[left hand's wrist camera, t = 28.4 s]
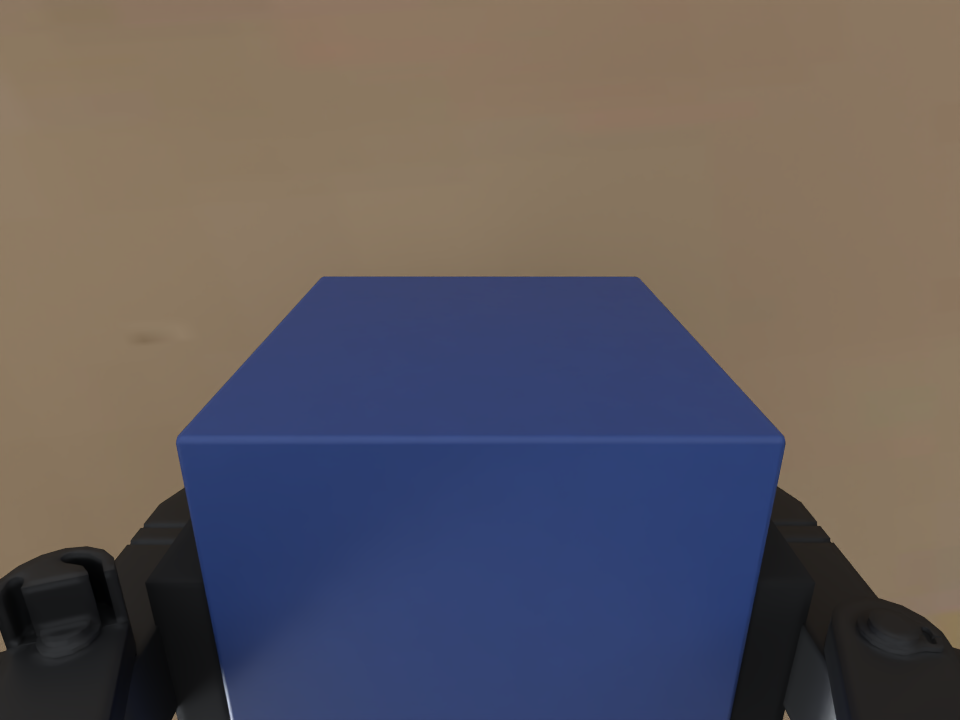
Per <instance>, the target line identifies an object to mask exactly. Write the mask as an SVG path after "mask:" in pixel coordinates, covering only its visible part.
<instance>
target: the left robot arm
mask: <svg viewBox="0 0 960 720" xmlns="http://www.w3.org/2000/svg"><path fill="white" fill-rule="evenodd" d="M0 631H1V634H2V637H3V640H4V642H5V645H6V648H7V650H6V651H3V652H0V720H172V718H173V716H174V714H175V712H176V714H177V718H178V720H231V718H230V713H229V708H228V703H227V698H226V693H225V688H224V683H223V678H222V673H221V668H220V663H219V658H218V653H217V648H216V643H215V638H214V633H213V628H212V622H211V617H210V612H209V607H208V602H207V597H206V592H205V587H204V582H203V577H202V572H201V567H200V562H199V557H198V552H197V547H196V542H195V537H194V531H193V526H192V521H191V516H190V511H189V506H188V501H187V496H186V491H185V488H183V489H182V490H180V491H179V492H177V493H176V494H174V495H173V496H171V497H170V498H168V499H167V500H165V501H164V502H162V503H161V504H160V505H159V506H158V507H157V508H156V510H155V511H154V512H153V513H152V515H151V516H150V517H149V518H148V520H147V521H146V522H145V523H144V528H140V530H139V531H138V532H137V533H136V535H135V536H134V537H133V538H132V540H131V544H130V545H127V546H126V547H125V548H124V550H123V551H122V552H121V553H120V555H119V556H118V557H117V558H116V560H115V561H114V557H112V556H111V555H110V554H109V553H107V552H106V551H105V550H103V549H98V548H93V547H87V546H86V547H75V548H65V549H61V550H58V551H54V552H51V553H47V554H44V555H41V556H39V557H36V558H34V559H32V560H30V561H28V562H26V563H24V564H22V565H20V566H18V567H16V568H15V569H14V570H12V571H11V572H10V573H8V574H7V575H6V576H4V577H3V578H1V579H0ZM785 710H786V712H787V714H788V716H789V718H790V720H960V649H956V648H953V647H952V646H951V644H950V643H949V641H948V640H947V638H946V637H945V635H944V634H943V633H942V632H941V631H940V630H939V629H938V628H937V627H935V626H934V625H933V624H932V623H931V622H929V621H928V620H927V619H926V618H925V617H923V616H921V615H919V614H917V613H915V612H913V611H911V610H910V609H908V608H906V607H904V606H902V605H899V604H896V603H892V602H889V601H886V600H883V599H880V598H878V597H877V596H876V595H875V593H874V592H873V591H872V590H871V589H870V587H869V586H868V585H867V584H866V582H865V581H864V580H863V579H862V577H861V576H860V575H859V574H858V572H857V571H856V570H855V569H854V567H853V566H852V565H851V564H850V562H849V561H848V560H847V559H846V557H845V556H844V555H843V554H842V552H841V551H840V550H839V549H838V548H837V546H836V545H835V544H834V543H831V542H830V538H829V536H828V535H827V534H826V533H825V531H824V530H823V529H822V528H821V526H817V521H816V520H815V519H814V518H813V516H812V515H811V514H810V513H809V511H808V510H807V509H806V508H805V506H804V505H803V504H802V503H801V502H800V501H798V500H797V499H795V498H794V497H792V496H791V495H789V494H788V493H786V492H785V491H783V490H782V489H780V488H779V487H777V488H776V493H775V498H774V503H773V508H772V513H771V518H770V523H769V528H768V533H767V538H766V543H765V548H764V553H763V558H762V563H761V568H760V573H759V578H758V583H757V588H756V593H755V598H754V603H753V608H752V613H751V618H750V623H749V628H748V633H747V638H746V643H745V648H744V653H743V658H742V663H741V668H740V673H739V678H738V683H737V688H736V693H735V698H734V703H733V708H732V713H731V718H730V720H783V716H784V712H785Z"/></svg>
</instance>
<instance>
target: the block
mask: <svg viewBox="0 0 960 720" xmlns="http://www.w3.org/2000/svg"><path fill="white" fill-rule="evenodd" d="M176 446H177V451H178V456H179V461H180V466H181V471H182V476H183V481H184V486H185V491H186V496H187V501H188V506H189V511H190V516H191V521H192V526H193V531H194V537H195V542H196V547H197V552H198V557H199V562H200V567H201V572H202V577H203V582H204V587H205V592H206V597H207V602H208V607H209V612H210V617H211V622H212V628H213V633H214V638H215V643H216V648H217V653H218V658H219V663H220V668H221V673H222V678H223V683H224V688H225V693H226V698H227V703H228V708H229V713H230V718H231V720H730V718H731V713H732V708H733V703H734V698H735V693H736V688H737V683H738V678H739V673H740V668H741V663H742V658H743V653H744V648H745V643H746V638H747V633H748V628H749V623H750V618H751V613H752V608H753V603H754V598H755V593H756V588H757V583H758V578H759V573H760V568H761V563H762V558H763V553H764V548H765V543H766V538H767V533H768V528H769V523H770V518H771V513H772V508H773V503H774V498H775V493H776V488H777V483H778V478H779V473H780V468H781V463H782V458H783V453H784V448H785V439H784V436H783V435H782V434H781V433H780V431H779V430H778V429H777V428H776V427H775V426H774V425H773V424H772V423H771V422H770V421H769V419H768V418H767V417H766V416H765V415H764V414H763V413H762V412H761V411H760V410H759V408H758V407H757V406H756V405H755V404H754V403H753V402H752V401H751V400H750V399H749V398H748V396H747V395H746V394H745V393H744V392H743V391H742V390H741V389H740V388H739V387H738V386H737V384H736V383H735V382H734V381H733V380H732V379H731V378H730V377H729V376H728V375H727V374H726V372H725V371H724V370H723V369H722V368H721V367H720V366H719V365H718V364H717V363H716V362H715V360H714V359H713V358H712V357H711V356H710V355H709V354H708V353H707V352H706V351H705V350H704V348H703V347H702V346H701V345H700V344H699V343H698V342H697V341H696V340H695V339H694V337H693V336H692V335H691V334H690V333H689V332H688V331H687V330H686V329H685V328H684V327H683V325H682V324H681V323H680V322H679V321H678V320H677V319H676V318H675V317H674V316H673V315H672V313H671V312H670V311H669V310H668V309H667V308H666V307H665V306H664V305H663V304H662V303H661V301H660V300H659V299H658V298H657V297H656V296H655V295H654V294H653V293H652V292H651V291H650V289H649V288H648V287H647V286H646V285H645V284H644V283H643V282H642V281H641V280H640V279H639V278H638V277H322V278H321V279H320V280H319V281H318V282H317V283H316V284H315V285H314V286H313V287H312V288H311V290H310V291H309V292H308V293H307V294H306V295H305V296H304V297H303V298H302V299H301V301H300V302H299V303H298V304H297V305H296V306H295V307H294V308H293V309H292V311H291V312H290V313H289V314H288V315H287V316H286V317H285V318H284V319H283V320H282V322H281V323H280V324H279V325H278V326H277V327H276V328H275V329H274V330H273V331H272V333H271V334H270V335H269V336H268V337H267V338H266V339H265V340H264V341H263V343H262V344H261V345H260V346H259V347H258V348H257V349H256V350H255V351H254V352H253V354H252V355H251V356H250V357H249V358H248V359H247V360H246V361H245V362H244V363H243V365H242V366H241V367H240V368H239V369H238V370H237V371H236V372H235V373H234V375H233V376H232V377H231V378H230V379H229V380H228V381H227V382H226V383H225V384H224V386H223V387H222V388H221V389H220V390H219V391H218V392H217V393H216V394H215V396H214V397H213V398H212V399H211V400H210V401H209V402H208V403H207V404H206V405H205V407H204V408H203V409H202V410H201V411H200V412H199V413H198V414H197V415H196V416H195V418H194V419H193V420H192V421H191V422H190V423H189V424H188V425H187V426H186V428H185V429H184V430H183V431H182V432H181V433H180V434H179V435H178V437H177V441H176Z"/></svg>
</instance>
